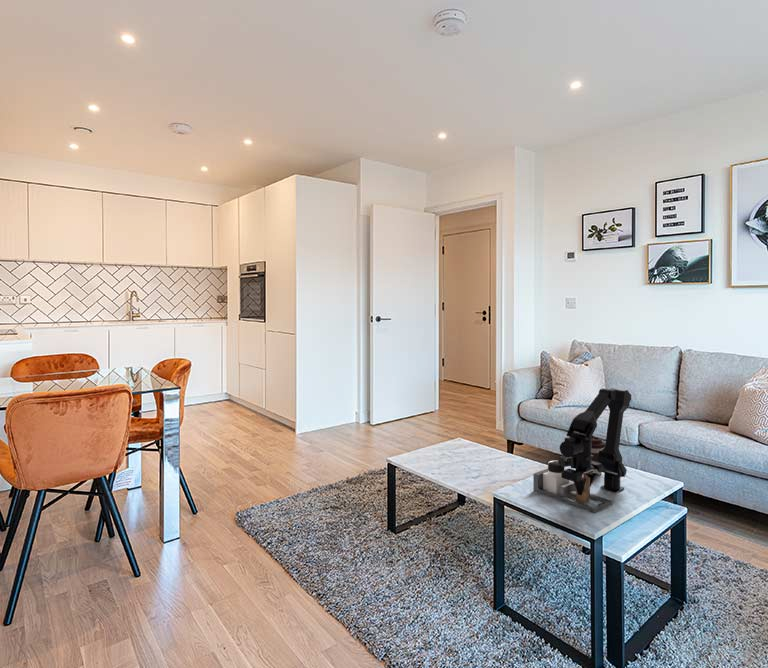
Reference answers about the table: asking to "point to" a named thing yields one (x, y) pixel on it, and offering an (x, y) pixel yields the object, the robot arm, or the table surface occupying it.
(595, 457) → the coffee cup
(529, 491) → the table surface
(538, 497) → the table surface
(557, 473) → the medicine bottle
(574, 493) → the press carriage
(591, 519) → the table surface
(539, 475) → the frame
